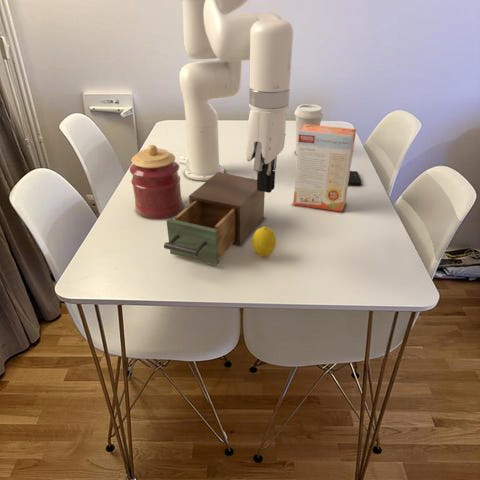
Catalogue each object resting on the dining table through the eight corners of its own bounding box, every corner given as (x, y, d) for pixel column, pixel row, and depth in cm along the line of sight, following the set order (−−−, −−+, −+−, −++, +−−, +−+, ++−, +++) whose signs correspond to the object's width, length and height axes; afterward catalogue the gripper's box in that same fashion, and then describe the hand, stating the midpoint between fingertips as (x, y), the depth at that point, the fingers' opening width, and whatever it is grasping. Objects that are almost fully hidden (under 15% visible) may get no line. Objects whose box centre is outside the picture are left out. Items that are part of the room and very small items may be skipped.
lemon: (273, 264, 107) (274, 234, 102) (250, 261, 108) (250, 231, 103) (276, 252, 112) (278, 222, 106) (254, 249, 112) (254, 220, 107)
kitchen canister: (127, 215, 126) (116, 150, 115) (150, 195, 135) (141, 134, 124) (169, 222, 123) (162, 157, 111) (190, 202, 132) (185, 139, 120)
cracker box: (345, 203, 131) (357, 128, 118) (341, 213, 127) (354, 135, 113) (297, 196, 135) (304, 122, 121) (292, 205, 130) (298, 129, 117)
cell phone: (300, 172, 148) (300, 169, 147) (357, 173, 147) (357, 170, 146) (301, 184, 141) (301, 181, 140) (360, 185, 140) (361, 182, 139)
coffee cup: (323, 151, 162) (328, 106, 152) (311, 160, 156) (316, 113, 146) (299, 146, 166) (303, 101, 156) (286, 154, 160) (289, 108, 150)
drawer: (206, 278, 102) (204, 243, 96) (158, 265, 106) (153, 231, 100) (242, 236, 115) (242, 204, 110) (199, 226, 119) (197, 194, 114)
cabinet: (239, 246, 114) (239, 206, 107) (191, 234, 118) (188, 195, 111) (263, 218, 125) (265, 181, 118) (218, 208, 129) (217, 172, 122)
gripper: (266, 86, 93) (263, 173, 105) (234, 106, 83) (234, 201, 95) (301, 90, 91) (294, 179, 103) (272, 111, 80) (268, 208, 92)
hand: (265, 189), depth 99 cm, fingers closed
